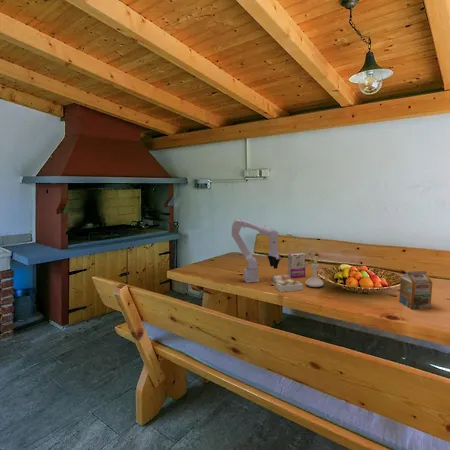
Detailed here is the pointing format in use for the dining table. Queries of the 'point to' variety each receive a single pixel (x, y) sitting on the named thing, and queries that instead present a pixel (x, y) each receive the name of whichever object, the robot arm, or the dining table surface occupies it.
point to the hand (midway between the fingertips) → (273, 267)
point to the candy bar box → (296, 265)
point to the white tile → (277, 277)
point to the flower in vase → (314, 280)
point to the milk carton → (416, 290)
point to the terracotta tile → (285, 277)
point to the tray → (290, 287)
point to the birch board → (283, 282)
